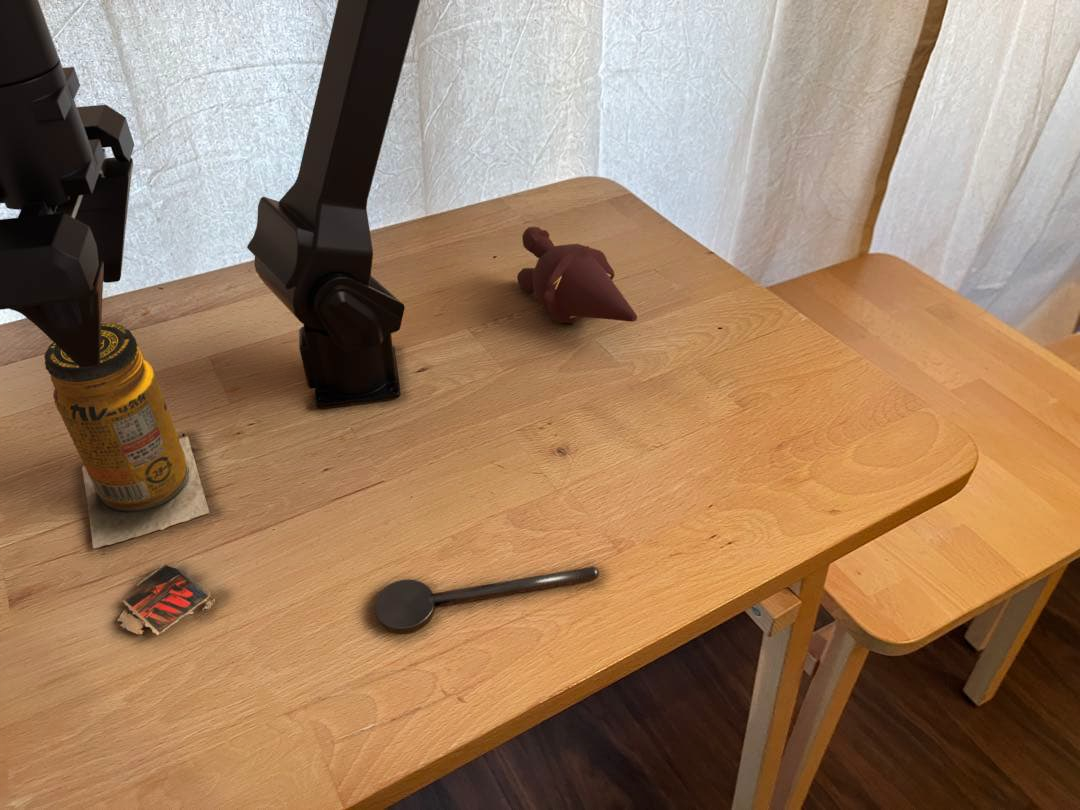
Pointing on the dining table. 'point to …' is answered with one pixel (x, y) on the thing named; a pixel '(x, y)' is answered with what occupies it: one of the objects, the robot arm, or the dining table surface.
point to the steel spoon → (455, 597)
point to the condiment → (125, 441)
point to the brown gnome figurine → (572, 281)
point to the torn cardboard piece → (163, 600)
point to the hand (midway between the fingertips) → (101, 320)
